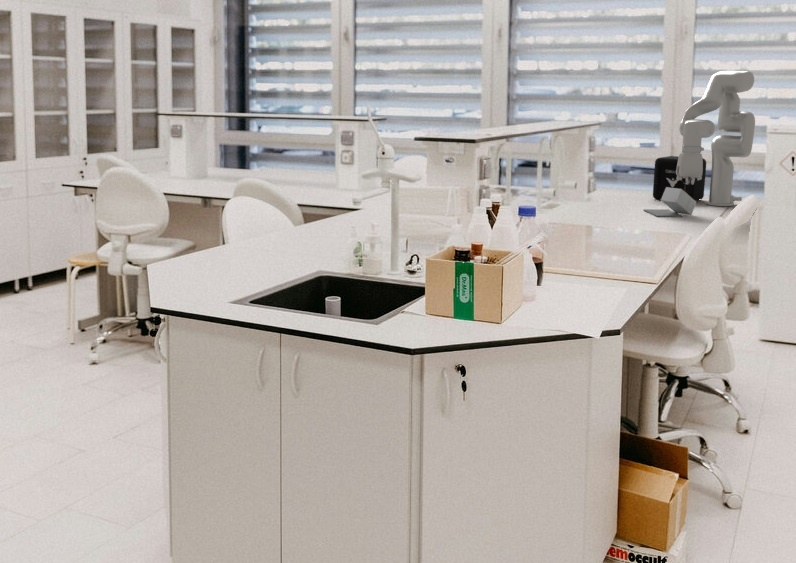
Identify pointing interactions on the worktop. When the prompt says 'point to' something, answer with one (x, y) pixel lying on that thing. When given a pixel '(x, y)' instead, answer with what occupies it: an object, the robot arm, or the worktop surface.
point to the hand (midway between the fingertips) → (687, 193)
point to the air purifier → (674, 178)
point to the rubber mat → (662, 213)
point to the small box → (678, 201)
